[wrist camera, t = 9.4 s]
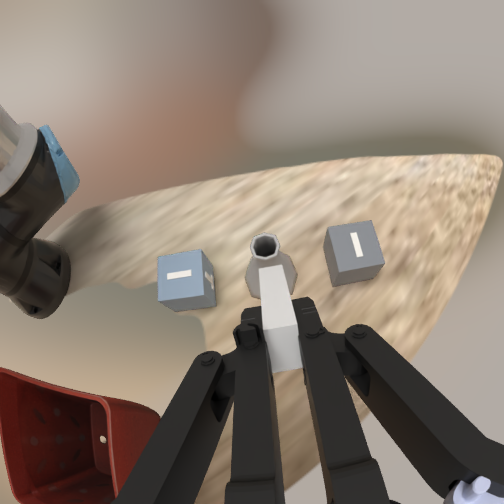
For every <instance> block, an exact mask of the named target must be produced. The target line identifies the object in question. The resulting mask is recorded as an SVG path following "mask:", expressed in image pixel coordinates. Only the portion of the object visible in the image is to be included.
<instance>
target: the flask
mask: <svg viewBox="0 0 504 504" xmlns="http://www.w3.org/2000/svg"><path fill="white" fill-rule="evenodd" d="M279 248H280V244H279V241H278V239H277V237H276V235H273V234H269V233H262V234H259V235H256V236H254V237H253V239H252V242H251V245H250V249H251V252H252V254H253V257H252V258H251V260H250V263H249V266H248V269H247V272H246V275H245V280H246V283H247V285H248V288H249V291H250V293H251V296H252V297H256V298H260V299H261V294H260V280H259V269H260V268H266V267H271V266H277V265H282V266H283V270H284V274H285V278H286V282H287V285H288V289H289V293H290V294H292V293H293V289H294V285H295V282H296V278H297V272H296V270H295V267H294V265H293V263H292V261H291V258H290V256H288V255H286V254H284V253H282V252H281V251H279Z"/></svg>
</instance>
